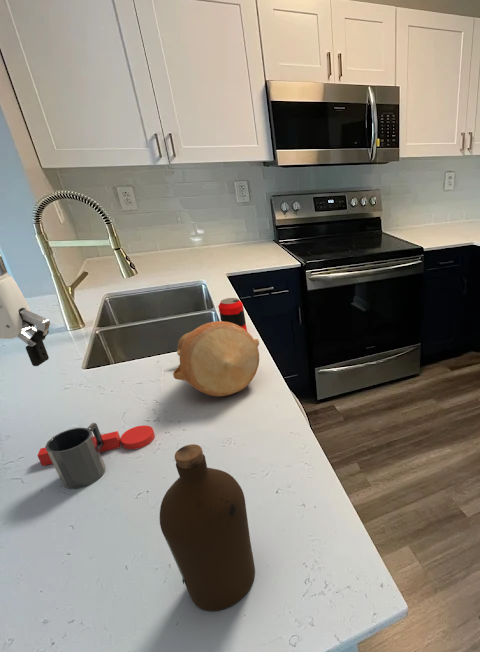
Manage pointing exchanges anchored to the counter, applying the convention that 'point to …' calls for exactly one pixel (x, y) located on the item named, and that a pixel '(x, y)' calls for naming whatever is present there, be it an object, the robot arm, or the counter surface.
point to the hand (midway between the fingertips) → (14, 361)
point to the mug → (77, 456)
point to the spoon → (115, 441)
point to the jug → (217, 358)
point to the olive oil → (208, 532)
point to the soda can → (232, 312)
